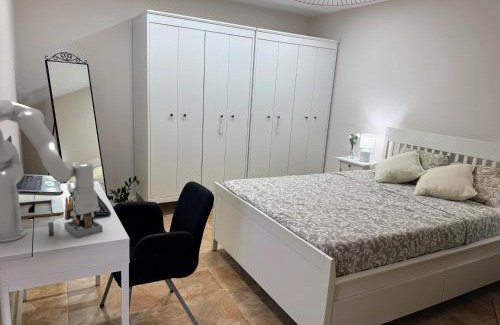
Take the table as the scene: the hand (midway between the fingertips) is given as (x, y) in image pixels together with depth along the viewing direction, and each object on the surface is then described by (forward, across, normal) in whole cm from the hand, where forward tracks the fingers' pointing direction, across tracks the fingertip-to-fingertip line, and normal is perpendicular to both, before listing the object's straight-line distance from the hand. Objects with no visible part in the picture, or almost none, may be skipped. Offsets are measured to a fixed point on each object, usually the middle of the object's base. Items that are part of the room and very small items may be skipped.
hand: (86, 225), depth 166 cm
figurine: (+4, +11, +37) cm, 39 cm away
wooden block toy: (+1, 0, +3) cm, 3 cm away
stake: (+3, -13, +7) cm, 15 cm away
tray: (+4, 0, +3) cm, 5 cm away
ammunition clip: (+4, +4, +22) cm, 22 cm away
